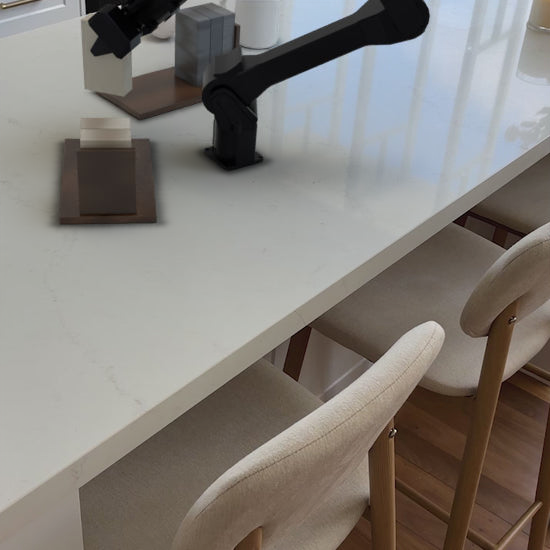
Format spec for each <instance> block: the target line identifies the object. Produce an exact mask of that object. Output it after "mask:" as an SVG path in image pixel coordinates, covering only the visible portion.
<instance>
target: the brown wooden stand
mask: <svg viewBox="0 0 550 550" xmlns="http://www.w3.org/2000/svg"><path fill="white" fill-rule="evenodd" d="M131 133H132V131H131V118H130V117H80V132H79V135H80V136H79V138H65V139H64V145H63V157H62V159H63V160H62V172H61V185H60V187H61V188H60V200H59V215H58V220H59V224H60V225H79V224H81V225H83V224H134V223H136V224H137V223H139V224H140V223H157V221H158V217H157V205H156V195H155V185H154V184H155V182H154V173H153V162H152V152H151V142H150V138H132V136H131V135H132V134H131Z"/></svg>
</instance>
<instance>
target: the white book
mask: <svg viewBox="0 0 550 550" xmlns="http://www.w3.org/2000/svg"><path fill="white" fill-rule="evenodd" d="M94 14H95V13H94V12H93V13H92V12H89V13H88V14H87V15H85V16H84V17H83V18H80V30H81V48H82V50H81V51H82V52H81V53H82V69H83V85H84V87H83V88H84V90H86V91H93V92H96V91H97V92H102V93H107V94H113V95H118V96H123V97H124V96H125V95H126V94H127V93H128V92H129V91H131V90H132V77H133V57H132V55H133V54H132V53H133V52H132V51H133V50H132V51H131V52H130V53H128V54H127V55H126V56H125V57H124V58H123V59H118V58H116V57H115V55H114V54H113V53H110V54H106V55H101V56H97V57H95V56H94V55H93V54H92V53H91V52H90V49H91V48H92V46H93V44H94V43H95V41H96V39H97V38H98V35H97V34H96V33H95V32H94V31H93V30H92V28H91V27H90V26H89V24H88V20H89V19H90V18H91V17H92V16H93V15H94Z"/></svg>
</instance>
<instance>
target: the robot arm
mask: <svg viewBox="0 0 550 550" xmlns="http://www.w3.org/2000/svg"><path fill="white" fill-rule="evenodd" d="M187 1H188V0H120V6H119V5H117V4H113V3H112V4H111V3H107V4H106V5H104V6H103V7H101V8H100V9H98V10H97V11H96V12H95V13H93V14H94V15H93V16H92V17H91V18H90V19H89V20H88V24H89V26H90V27H91V28H92V30H93V31H94V32H95V33H96V34H97V35H98V38H97V39H96V41H95V43H94V44H93V46H92V48H91V49H90V52H91V53H92V54H93V55H94V56H95V57H97V56H101V55H106V54H110V53H113V54H114V55H115V57H116V58H118V59H123V58H124V57H125V56H126V55H127V54H128V53H130V52H131V51H133V50H134V49H135V48H137V47H138V46H139V45H140V44H141V43H142V38H143V37H145V36H148V35H152V32H153V31H154V30H156V29H157V28H158V25H159V24H161V23H162V22H163V21H164V22H166V21H167V20H168V19H169V18H171V17H172V16H173V15H174V14H175V13H176V12H178V11H179V10H180V9H181V6H182V5H184V4H185V3H186V2H187ZM430 18H431V13H430V9H429V7H428V5H427V3H426V1H425V0H367V1H365V3H363V4H362V5H361V6H360V7H359V8H358V9H357V10H356V11H355V12H353V13H352V14H349V15H346V16H344V17H342V18H339V19H338V20H336V21H333V22H330V23H328V24H326V25H323V26H321V27H319V28H317V29H314V30H312V31H310V32H307V33H305V34H303V35H301V36H298V37H296V38H293V39H291V40H288V41H286V42H284V43H282V44H280V45H277V46H275V47H273V48H269V49H267V50H266V51H264V52H261V53H258V54H244V52H243V49H242V46H241V45H239V47H237V48H235V49H233V50H232V51H230V52H229V53H227V54H224V55H219V56H214V62H212V63H211V64H209V65H208V66H207V67H206V69H205V72H204V74H203V83H202V104H203V106H204V108H205V109H206V110H207V112H209V113H211V114H212V115H213V118H214V119H213V121H212V123H213V124H212V126H213V127H212V146H208V147H204V149H203V153H204V154H205V155H206V156H208V157H209V158H210V159H211V160H213V161H214V162H216V163H217V164H218V165H219V166H220V167H222V168H223V169H224V170H226V171H231V170H235V169H239V168H243V167H246V166H249V165H250V166H251V165H254V164H257V163H261V162H263V161H264V156H263V155H262V154H260V153H259V152H258V151H257V150H256V148H257V135H258V121H259V113H258V98H259V97H260V96H262V94H264V93H265V92H266V91H267V90H268V89H269V88H271V87H273V86H275V85H278V84H279V83H282V82H285V81H287V80H289V79H291V78H293V77H296V76H299V75H301V74H303V73H306V72H309V71H311V70H313V69H315V68H318V67H319V66H322V65H325V64H327V63H329V62H332V61H334V60H337V59H339V58H342V57H344V56H346V55H348V54H350V53H351V54H352V53H353V52H355V51H358V50H360V49H362V48H364V47H365V48H366V47H371V46H391V45H396V44H401V43H404V42H408V41H412V40H416V39H417V38H419V37H421V36H422V35H423V34H424V33H425V32H426V29H427V28H428V25H429V24H430Z"/></svg>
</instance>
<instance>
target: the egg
mask: <svg viewBox="0 0 550 550" xmlns="http://www.w3.org/2000/svg"><path fill="white" fill-rule="evenodd" d="M151 35H153V36H154V37H155V38H158V39H161V40H165V39H169V38H170V37H172V36H174V35H175V14H174V15H173V16H172V17H171V18H169V19H168V20H167V21H166V22H164V21H163V22H162V23H161V24H159V25H158V28H157V29H156V30H154V31H153V32H152V33H151Z"/></svg>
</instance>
